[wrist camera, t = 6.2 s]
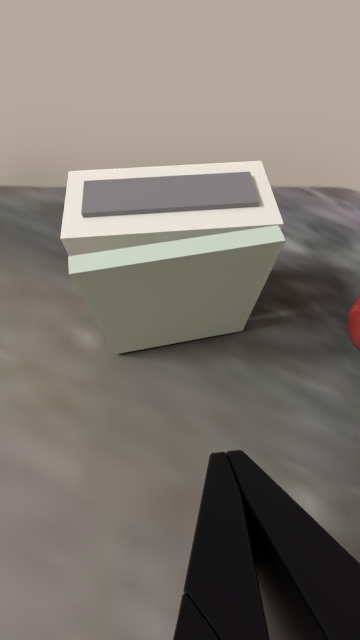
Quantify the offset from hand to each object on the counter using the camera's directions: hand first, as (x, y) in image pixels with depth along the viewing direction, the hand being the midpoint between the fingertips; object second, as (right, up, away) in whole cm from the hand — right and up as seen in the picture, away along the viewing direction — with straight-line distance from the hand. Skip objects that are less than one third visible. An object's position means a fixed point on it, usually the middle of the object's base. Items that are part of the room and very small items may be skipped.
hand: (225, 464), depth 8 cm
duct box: (-2, +6, +16) cm, 18 cm away
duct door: (-1, +3, +14) cm, 15 cm away
